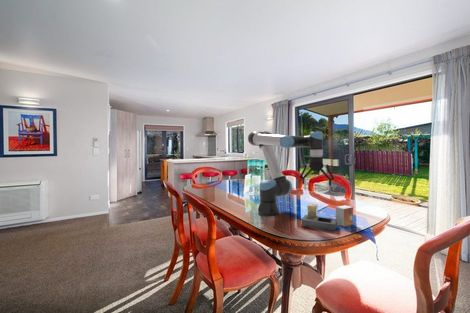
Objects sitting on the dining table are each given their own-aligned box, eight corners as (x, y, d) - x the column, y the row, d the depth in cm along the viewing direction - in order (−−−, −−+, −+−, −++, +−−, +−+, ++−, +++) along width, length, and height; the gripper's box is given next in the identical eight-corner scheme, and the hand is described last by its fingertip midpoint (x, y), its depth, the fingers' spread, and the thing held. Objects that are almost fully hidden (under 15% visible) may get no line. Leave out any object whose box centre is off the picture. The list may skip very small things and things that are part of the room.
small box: (343, 227, 117) (343, 209, 117) (335, 224, 122) (335, 206, 122) (353, 224, 120) (353, 207, 120) (345, 221, 126) (344, 204, 125)
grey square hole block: (301, 226, 121) (301, 219, 120) (305, 221, 129) (305, 214, 129) (335, 231, 111) (335, 224, 111) (337, 225, 120) (336, 218, 119)
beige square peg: (307, 221, 128) (307, 205, 128) (309, 219, 133) (309, 203, 132) (316, 222, 126) (315, 206, 125) (317, 220, 130) (317, 204, 130)
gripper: (295, 156, 130) (295, 189, 131) (338, 156, 120) (338, 192, 121) (296, 156, 137) (296, 187, 138) (338, 156, 127) (338, 190, 128)
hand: (316, 190), depth 130 cm, fingers open, 13 cm apart
